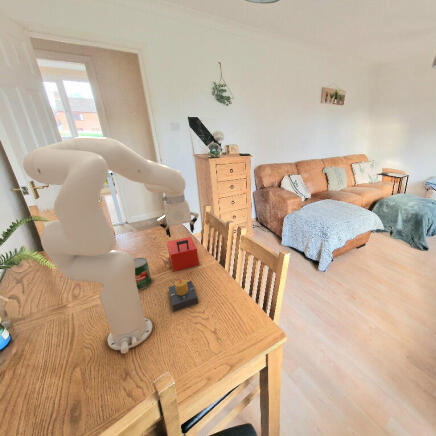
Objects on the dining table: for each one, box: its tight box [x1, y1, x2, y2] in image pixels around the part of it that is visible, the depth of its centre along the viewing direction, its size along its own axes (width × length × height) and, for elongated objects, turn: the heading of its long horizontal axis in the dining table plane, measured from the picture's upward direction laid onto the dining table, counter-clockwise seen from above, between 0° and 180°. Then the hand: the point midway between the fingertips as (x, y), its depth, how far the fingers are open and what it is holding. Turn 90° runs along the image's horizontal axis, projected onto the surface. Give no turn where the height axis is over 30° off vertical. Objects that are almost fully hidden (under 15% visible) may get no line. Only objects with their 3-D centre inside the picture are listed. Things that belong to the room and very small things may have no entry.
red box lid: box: [166, 236, 198, 256], centre depth 116 cm, size 14×12×6 cm
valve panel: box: [167, 280, 199, 312], centre depth 96 cm, size 12×9×3 cm
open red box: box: [166, 244, 200, 272], centre depth 119 cm, size 14×12×9 cm
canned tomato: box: [134, 257, 153, 291], centre depth 101 cm, size 8×8×11 cm
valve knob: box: [174, 278, 188, 296], centre depth 95 cm, size 4×4×5 cm
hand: (180, 233), depth 110 cm, fingers open, 9 cm apart
